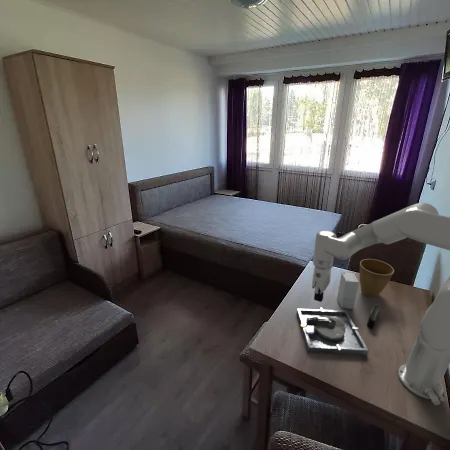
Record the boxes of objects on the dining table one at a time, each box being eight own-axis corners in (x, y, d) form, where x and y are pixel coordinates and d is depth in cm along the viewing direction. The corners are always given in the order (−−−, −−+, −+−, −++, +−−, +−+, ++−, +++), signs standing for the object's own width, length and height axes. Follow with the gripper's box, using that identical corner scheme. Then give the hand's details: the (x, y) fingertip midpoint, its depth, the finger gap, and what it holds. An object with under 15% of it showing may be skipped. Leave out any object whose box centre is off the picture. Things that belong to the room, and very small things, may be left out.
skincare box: (353, 309, 124) (360, 282, 118) (340, 307, 125) (346, 281, 119) (348, 298, 132) (354, 272, 126) (336, 297, 133) (341, 271, 127)
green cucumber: (376, 322, 110) (381, 302, 121) (368, 319, 112) (374, 300, 123) (373, 331, 112) (379, 311, 123) (365, 328, 114) (371, 308, 125)
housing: (369, 357, 99) (371, 351, 98) (306, 353, 100) (307, 347, 99) (346, 314, 121) (347, 309, 120) (294, 311, 121) (295, 306, 120)
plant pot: (349, 284, 143) (355, 258, 137) (377, 285, 143) (384, 259, 137) (361, 301, 129) (368, 273, 123) (392, 303, 129) (400, 275, 123)
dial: (339, 320, 115) (341, 309, 113) (349, 341, 104) (351, 330, 102) (302, 317, 116) (304, 307, 114) (309, 338, 105) (310, 327, 103)
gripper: (327, 271, 98) (321, 312, 104) (337, 256, 109) (332, 294, 116) (307, 266, 102) (303, 306, 108) (319, 252, 113) (315, 289, 120)
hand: (318, 299), depth 112 cm, fingers closed
